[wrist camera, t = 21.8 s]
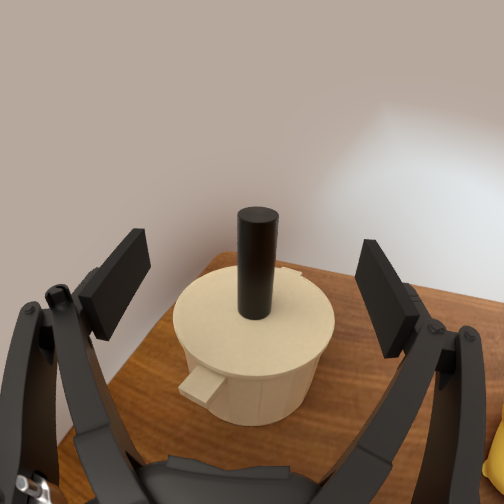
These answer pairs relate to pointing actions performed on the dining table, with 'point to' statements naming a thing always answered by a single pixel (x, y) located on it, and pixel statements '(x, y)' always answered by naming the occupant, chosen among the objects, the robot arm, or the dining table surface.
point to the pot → (247, 392)
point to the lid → (254, 310)
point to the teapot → (496, 459)
